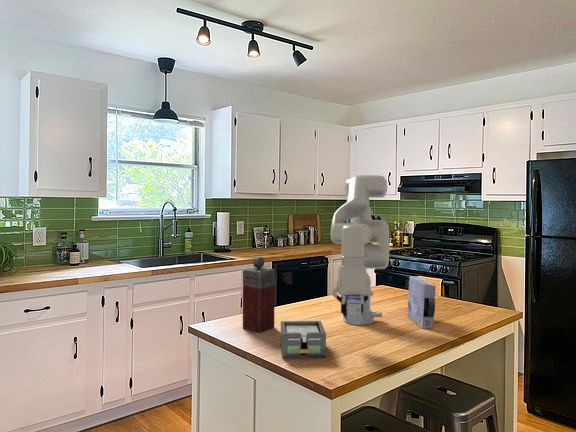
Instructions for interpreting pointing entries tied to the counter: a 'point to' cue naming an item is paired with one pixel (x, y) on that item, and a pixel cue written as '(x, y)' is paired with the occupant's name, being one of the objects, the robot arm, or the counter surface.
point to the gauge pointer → (303, 350)
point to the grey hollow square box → (294, 342)
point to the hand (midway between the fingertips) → (351, 314)
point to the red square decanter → (258, 297)
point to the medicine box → (353, 309)
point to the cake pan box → (421, 302)
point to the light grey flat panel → (301, 330)
